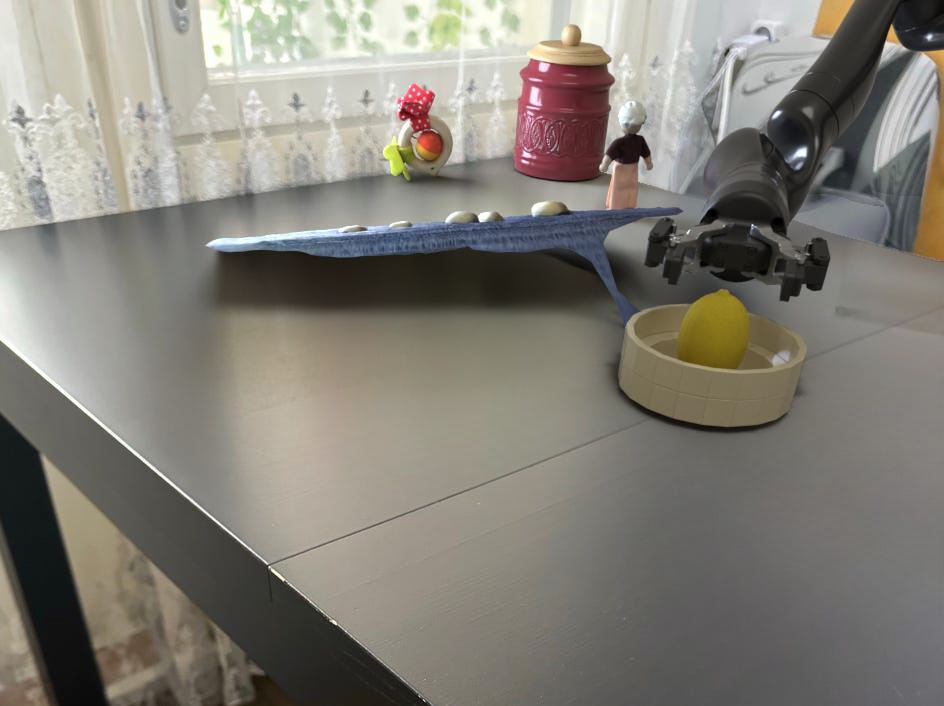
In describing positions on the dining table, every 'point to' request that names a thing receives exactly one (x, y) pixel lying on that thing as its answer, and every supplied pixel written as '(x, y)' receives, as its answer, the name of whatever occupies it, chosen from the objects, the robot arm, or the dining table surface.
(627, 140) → the grandmother figurine
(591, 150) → the kitchen canister
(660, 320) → the bowl
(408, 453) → the dining table surface
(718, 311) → the lemon
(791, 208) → the robot arm
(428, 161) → the bird rattle
